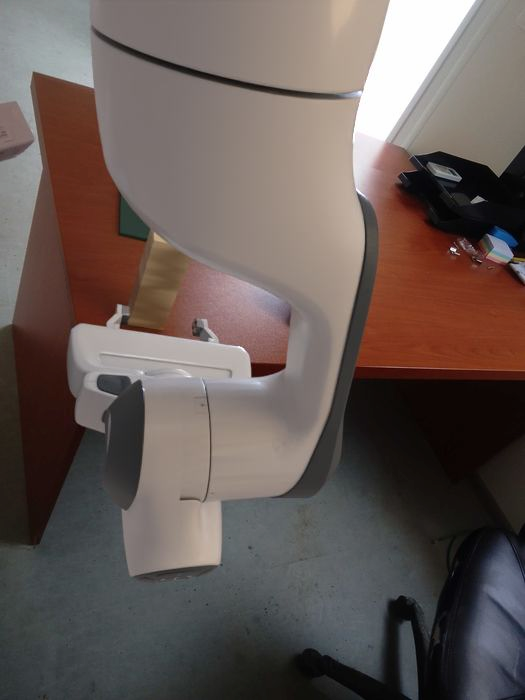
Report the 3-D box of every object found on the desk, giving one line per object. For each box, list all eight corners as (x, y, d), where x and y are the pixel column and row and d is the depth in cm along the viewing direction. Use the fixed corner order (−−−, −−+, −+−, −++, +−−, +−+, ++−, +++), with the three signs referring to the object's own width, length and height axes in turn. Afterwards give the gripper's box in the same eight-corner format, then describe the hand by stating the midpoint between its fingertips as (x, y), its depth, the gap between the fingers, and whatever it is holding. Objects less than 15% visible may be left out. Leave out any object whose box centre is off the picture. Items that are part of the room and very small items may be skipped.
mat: (119, 235, 75) (119, 232, 75) (120, 177, 86) (121, 174, 86) (241, 263, 84) (242, 261, 84) (228, 208, 96) (229, 205, 95)
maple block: (127, 325, 63) (153, 240, 54) (127, 305, 66) (152, 220, 56) (163, 330, 66) (194, 249, 56) (161, 310, 68) (192, 229, 58)
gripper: (270, 403, 49) (249, 312, 58) (65, 384, 41) (77, 280, 49) (247, 433, 53) (231, 343, 62) (57, 421, 45) (70, 319, 53)
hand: (162, 315), depth 55 cm, fingers open, 8 cm apart
